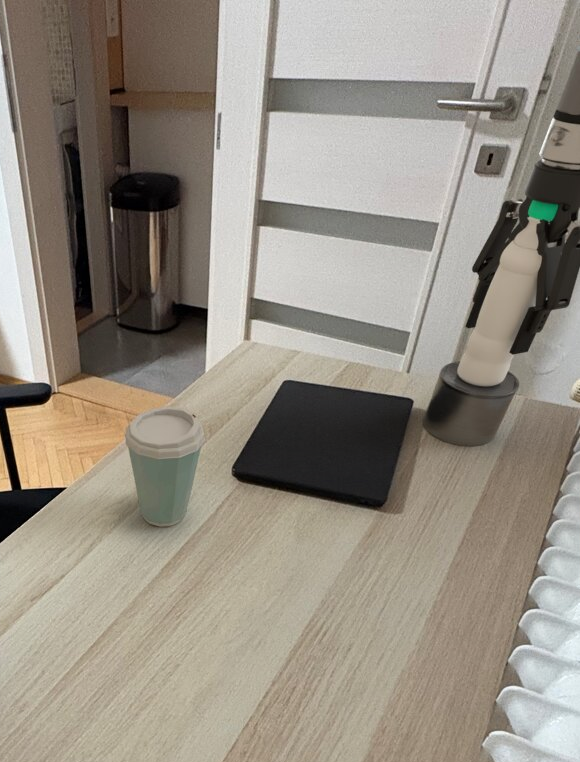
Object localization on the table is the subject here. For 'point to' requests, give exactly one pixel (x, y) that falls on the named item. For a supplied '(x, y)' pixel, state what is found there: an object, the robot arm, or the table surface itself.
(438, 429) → the tin
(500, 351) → the water bottle
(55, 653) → the table surface
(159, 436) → the disposable coffee cup
